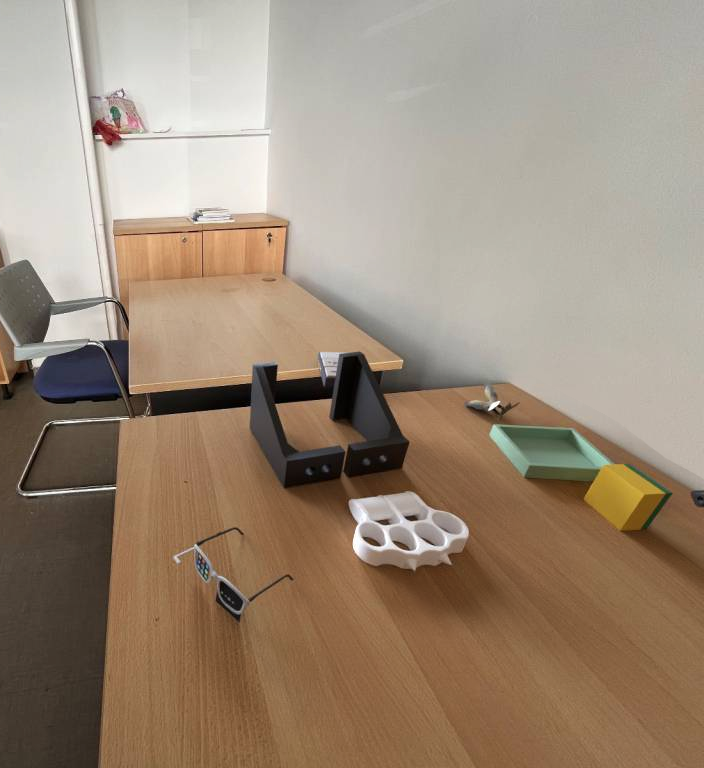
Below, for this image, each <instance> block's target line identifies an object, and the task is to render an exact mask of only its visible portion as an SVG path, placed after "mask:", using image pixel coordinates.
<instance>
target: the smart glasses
mask: <svg viewBox="0 0 704 768" xmlns="http://www.w3.org/2000/svg"><path fill="white" fill-rule="evenodd" d="M231 531H237V532H238V533H239V534H240V535H241V536H244V535H245V532H242V530H241V529H240V528H238V527H236V526H234V527H231V528H228V529H226V530H223V531H219V532H217V533H216V534H213V535H211V536H208V537H206V538H204V539H201V540H199V541H197V542H195V544H194V545H193V547H191V548H188V549H186V550H184V551H182V552H180V553H177V554H176V555H173V556H172V559H173V560H174V561H175V563H176V564H177V565H180V564H181V560H180V559H179V558H181V557H183V556H184V555H186V554H189V553H191V552H193V553H194V554H193V561H194V567H195V570H196V572H197V573H198V575H199V577H200V578H201V579H202V581H203V582H204V583H205V584H210V583H211V582H212V581H213V579H215V581H216V587H217V589H216V593H215V594H216V595H215V600H214V601H215V602H216V603H217V604H218V605H219V606H220V607H221V608H222V609H223V610H224V611H226V612H227V613H228V614H229V616H231V617H232V618H234V620H235V621H236V622H238V623H240V622H241V617H242V614H243V613H244V612H245V610H246V608H247V607H248V606H249V605H250V603H251V602H252V601H254V600H255V599H256V598H257V597H258V596H260V595H261V594H264V592H266V591H268V590H269V589H270V588H272V587H273V586H275V585H277V584H279V582H281V581H282V580H284V579H285V578H288V579H289V580H290V581H294V578H293V577H292V575H291V574H289V573H287V574H284V575H282V576H281V577H280V578H278V579H276V580H275V581H273V582H272V583H270V584H268V585H267V586H266V587H264V588H262V589H261V590H259V591H258V592H257V593H255V594H253V595H252V596H250V597H249V598H247V597H246V596H245V595H244V594H243V593H242V592H241V591H240V590H239V589H238V588H237V587H236V586H235V585H234V584H233V583H232V582H231V581H229V580H228V578H226V577H224V576H222V575H219V574H218V573H217V572H216V571H215V568H214V566H213V564H212V562H211V561H210V559H209V558H208V557H207V556H206V554H205V553H204V552H203V550H201V548H200V546H202V545H204V543H206V542H208V541H211V540H212V539H215V538H218V537H220V536H222V535H225V534H227V533H229V532H231Z"/></svg>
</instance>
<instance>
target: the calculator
mask: <svg viewBox="0 0 704 768" xmlns="http://www.w3.org/2000/svg"><path fill="white" fill-rule="evenodd" d="M342 353H343V352H336V351H335V352H333V351H320V352H319V351H318V356H317V360H319V363H320V366H321V373H320V377H321V380H322V384H323V387H324V388H331V389H332V388H333V389H334V384H335V378H336V371H337V365H338V359H339V354H342Z"/></svg>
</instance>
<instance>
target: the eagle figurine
mask: <svg viewBox="0 0 704 768" xmlns="http://www.w3.org/2000/svg"><path fill="white" fill-rule="evenodd" d="M483 388H484V389H483V390H484V394H485V397H486V399H488V400H487V401H483V400H479V399H475V400H471V401H470V400H468V401H465V402H464V406H466V407H472V408H475V409H476V410H481V411H482V410H484V409H488V410H487V412H489V411H492V412H493V413H494V414H495V415H497V421H500V420H501V419H502V417H504V416H505V415H506V414H507V413H508V412H509V411H510V410H512V409H514V408H515V407H517V406H518V405H519V404H520V403H521V402H520V401H518V402H516V403H514V404H512V403H511V402H510V401H509V402H508V403H507V404H506V405H505V406H503V405H502V404H501V401H500V400H498V399H499V397H498V394H497V392H496V391H495V390H494V388H493V383H492V382H491V381H486V382H485V383H484V384H483ZM497 408H498V409H501V411H500V412H499V411H498V409H497Z"/></svg>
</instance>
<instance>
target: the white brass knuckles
mask: <svg viewBox="0 0 704 768" xmlns="http://www.w3.org/2000/svg"><path fill="white" fill-rule="evenodd" d="M348 508H349V511H350V513H351V514H352V517H353V519H354V520H355V521H356V522H357V526H356V528H355V532H354V535H353V540H352V548H353V551H354V553H355V554H356V556H357V557H359V559H360V560H361V561H362V562H364V563H366V564H368V565H370V566H372V567H379V566H381V565H382V566H383V565H391V566H395V567H397V568H399V569H403V570H404V569H405V570H412V571H414V572H416V570H417V569H418V568H419V567H421V566H433V567H436V566H438V565H440V564H441V563H443V564H447V565H448V566H449V565H450V566H453V564H452V562H451V559H450V558H449V555H450V554H461V553H462V552H463V550H464V549H465V545H466V543H467V541H468V539H469V537H470V530H469V528H468V526H467V524H466V523H465V522H464V521H463V520H462V519H461V518H459V517H458V516H456V515H454V514H453V513H450V512H447V511H444V510H438V509H437V510H436V509H435V508H432V507H430V506H429V505H427V504H426V503H425V502H424V501H423V500H422V498H421V497H420V496H419V495H418V494H417V493H415V492H414V491H409V490H407V491H404V492H400V493H392V494H386V495H385V494H384V495H383V494H378V495H377V496H371V497H363V498H362V497H361V498H350V499H349V500H348ZM411 516H414V517H415V518H416V520H413V521H412V520H408V519H407V518H406V517H411ZM384 520H386V521H387V522H388V523H389V524H387V525H384V524H381V523H379V521H384ZM364 538H369V539H372V540H374V541H375V542H377V543H378V544H379V545H380V546H375V545H372V544H370V543H369V542H367V541H366V540H364ZM425 540H427V541H429V542H430V543H431V544H430V543H428V542H427V541H425ZM394 542H399V543H401V544H403V545H405V546H406V547H407V548H408V549H409V550H405V549H403V548H400V547H399V546H397V545H396V544H395V543H394ZM432 544H433V545H432Z"/></svg>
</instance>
